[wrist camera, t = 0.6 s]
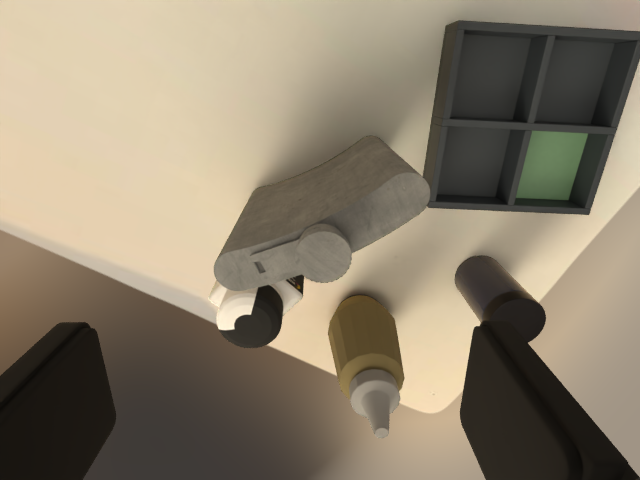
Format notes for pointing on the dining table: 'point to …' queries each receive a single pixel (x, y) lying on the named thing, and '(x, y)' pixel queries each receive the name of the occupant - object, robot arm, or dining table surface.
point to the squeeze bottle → (367, 359)
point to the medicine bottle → (255, 311)
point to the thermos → (499, 296)
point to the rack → (526, 115)
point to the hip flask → (321, 218)
